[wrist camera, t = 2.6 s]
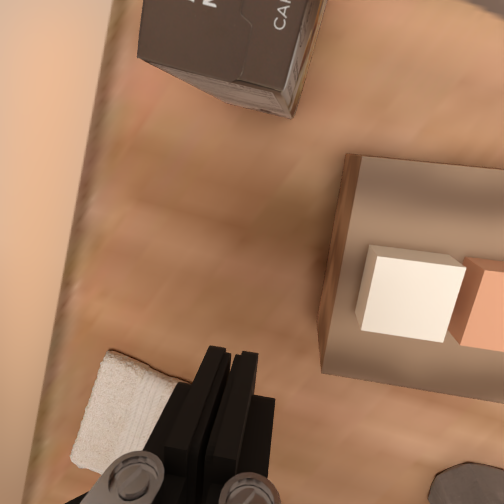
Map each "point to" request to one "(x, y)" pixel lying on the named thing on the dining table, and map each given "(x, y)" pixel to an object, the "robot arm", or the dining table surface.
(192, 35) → the coffee box
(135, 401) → the washcloth
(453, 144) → the dining table surface
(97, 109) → the dining table surface
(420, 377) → the block
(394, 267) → the tile
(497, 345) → the tile
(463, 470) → the coffeepot
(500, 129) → the dining table surface
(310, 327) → the dining table surface
